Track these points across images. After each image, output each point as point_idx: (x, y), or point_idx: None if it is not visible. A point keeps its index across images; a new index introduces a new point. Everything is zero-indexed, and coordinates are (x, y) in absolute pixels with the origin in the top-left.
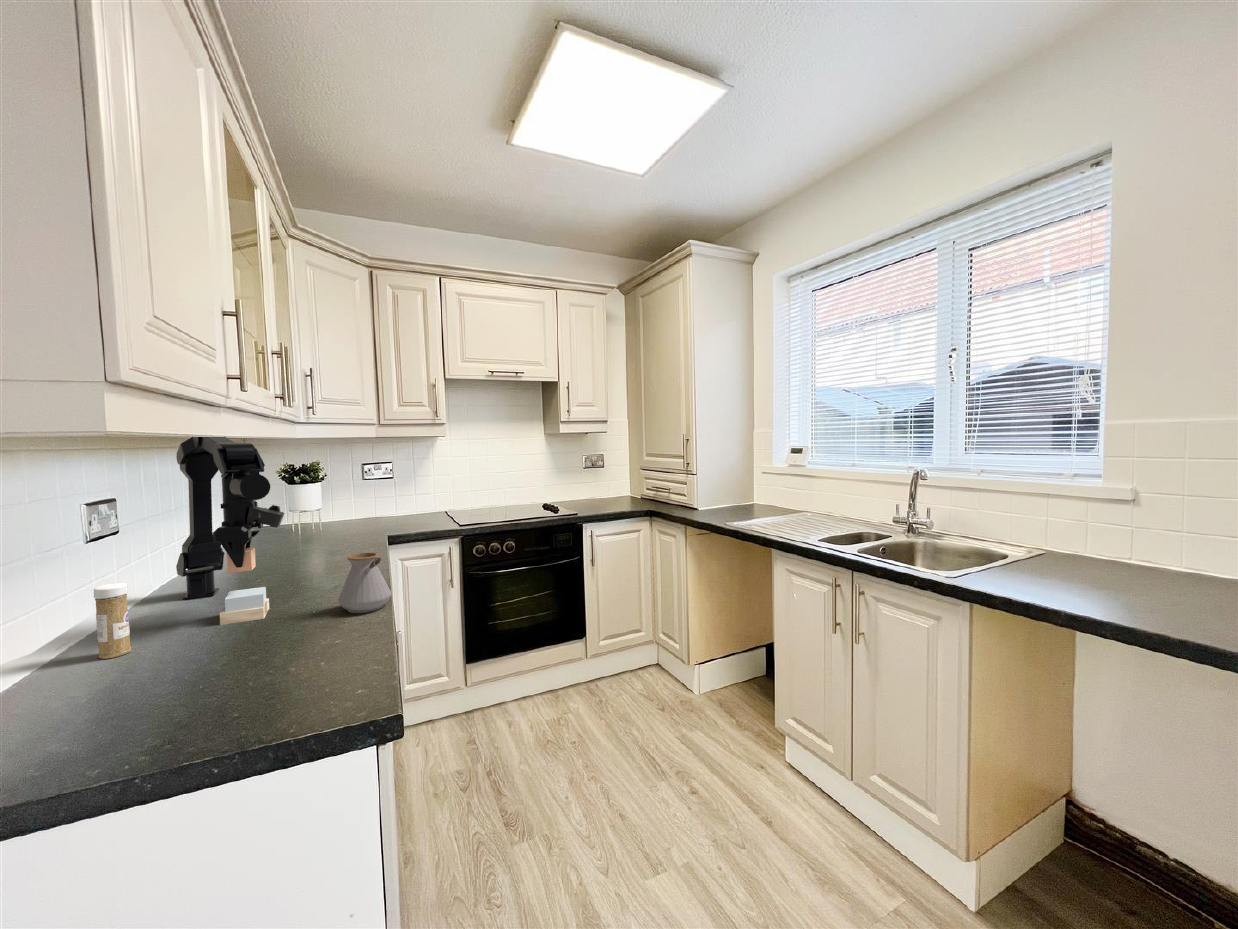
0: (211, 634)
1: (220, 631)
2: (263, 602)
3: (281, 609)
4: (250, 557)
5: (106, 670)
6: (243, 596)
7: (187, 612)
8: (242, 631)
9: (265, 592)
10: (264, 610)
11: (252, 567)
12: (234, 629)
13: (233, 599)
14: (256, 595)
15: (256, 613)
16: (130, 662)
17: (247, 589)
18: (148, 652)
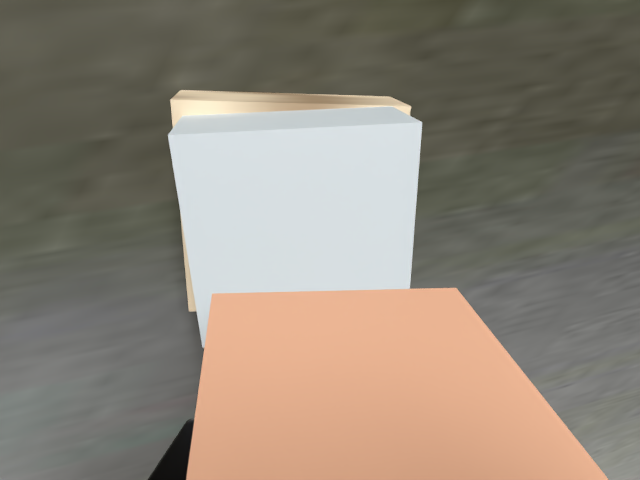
0: (489, 275)
1: (472, 252)
2: (401, 111)
3: (242, 10)
4: (552, 415)
5: (624, 436)
6: (403, 240)
7: (76, 439)
8: (539, 166)
9: (218, 124)
10: (366, 101)
11: (427, 302)
12: (483, 204)
13: (407, 283)
14: (417, 164)
15: None
16: (605, 410)
17: (202, 252)
18: (547, 398)
